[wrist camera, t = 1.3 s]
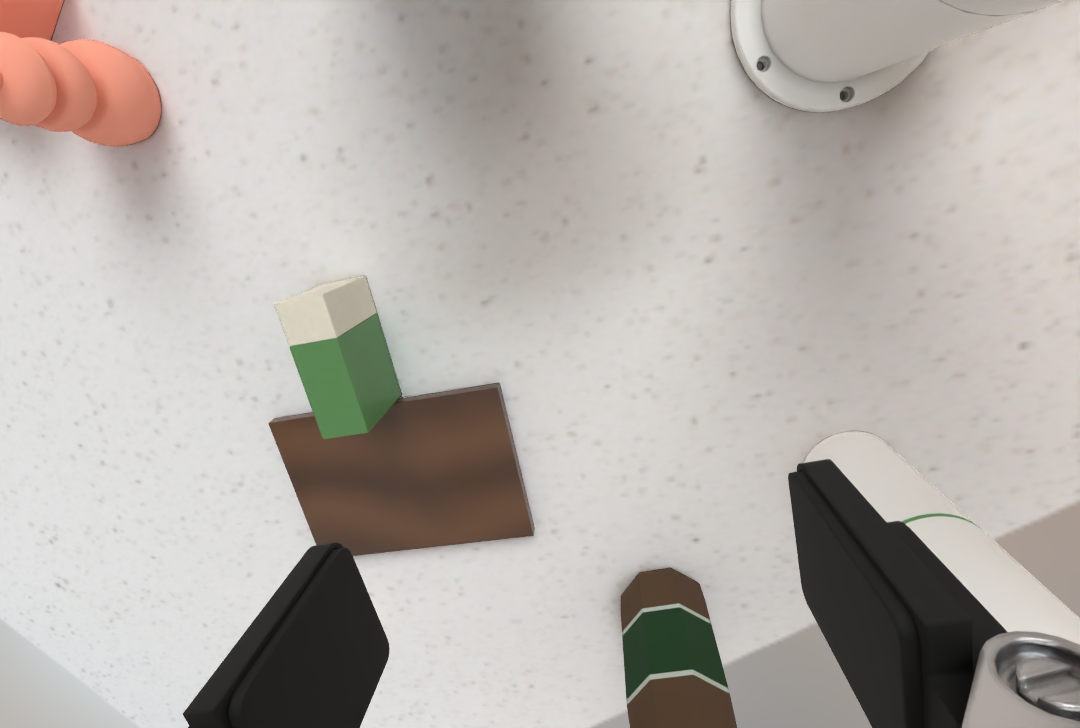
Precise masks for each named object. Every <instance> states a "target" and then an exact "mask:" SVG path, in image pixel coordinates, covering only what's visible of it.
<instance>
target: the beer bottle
mask: <svg viewBox="0 0 1080 728" xmlns="http://www.w3.org/2000/svg"><path fill="white" fill-rule="evenodd" d="M621 622H622V637H623V652H624V668H625V683H626V698H627V709H628V716H629V722H630V728H737V725H736V721H735V716H734V712H733V707H732V702H731V697H730V693H729V689H728V685H727V682H726V678H725V674H724V671H723V667H722V663H721V659H720V655H719V652H718V648H717V644H716V640H715V636H714V633H713V629H712V625H711V621H710V618H709V614H708V610H707V606H706V603H705V599H704V596H703V593H702V590H701V587H700V584H698V583H697V582H696V581H694V580H692V579H690V578H688V577H687V576H685V575H683V574H681V573H679V572H677V571H675V570H674V569H672V568H666V569H660V570H653V571H647V572H640V573H639V574H638V575H637V576H636V578H635V579H634V580H633V581H632V583H631V584H630V585H629V586H628V587H627V589H626V590H625V591H624V592H623V594H622V595H621Z"/></svg>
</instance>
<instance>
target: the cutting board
mask: <svg viewBox="0 0 1080 728" xmlns="http://www.w3.org/2000/svg"><path fill="white" fill-rule="evenodd" d="M269 426H270V429H271V431H272V434H273V436H274V439H275V441H276V444H277V446H278V449H279V451H280V454H281V456H282V459H283V461H284V464H285V467H286V469H287V472H288V474H289V477H290V479H291V482H292V484H293V487H294V489H295V492H296V494H297V497H298V499H299V502H300V505H301V507H302V510H303V512H304V515H305V517H306V520H307V522H308V525H309V527H310V530H311V532H312V535H313V537H314V540H315V543H316V545H323V544H329V543H335V542H337V543H340V544H341V545H342V546H343V548H348V549H349V550H350V552H351V554H352V556H356V555H365V554H374V553H383V552H392V551H401V550H410V549H419V548H428V547H437V546H446V545H455V544H464V543H473V542H482V541H490V540H499V539H508V538H517V537H526V536H533V535H534V524H533V520H532V516H531V512H530V508H529V504H528V499H527V495H526V491H525V487H524V483H523V479H522V474H521V470H520V466H519V462H518V458H517V454H516V450H515V445H514V441H513V437H512V433H511V429H510V425H509V420H508V416H507V412H506V408H505V404H504V400H503V395H502V391H501V387H500V383H496V384H489V385H483V386H477V387H470V388H464V389H458V390H451V391H445V392H439V393H432V394H426V395H420V396H413V397H407V398H401V399H397V401H396V402H395V403H394V404H393V405H392V406H391V407H390V408H389V410H388V411H387V412H386V413H385V414H384V415H383V416H382V418H381V419H380V420H379V421H378V422H377V423H376V424H375V426H374V427H373V428H372V429H371V430H370V431H369V432H368V433H363V434H356V435H349V436H342V437H336V438H329V439H323V438H322V435H321V432H320V430H319V427H318V424H317V421H316V419H315V416H314V413H313V412H312V413H306V414H299V415H293V416H287V417H280V418H275V419H273V420H272V421H271V422H269Z"/></svg>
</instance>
